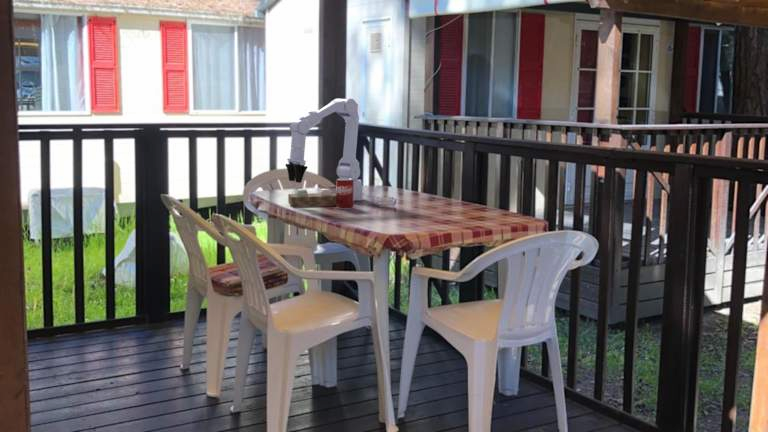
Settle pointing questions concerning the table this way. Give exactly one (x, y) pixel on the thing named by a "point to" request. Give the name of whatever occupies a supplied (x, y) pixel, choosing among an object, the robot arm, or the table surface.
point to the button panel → (312, 200)
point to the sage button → (301, 192)
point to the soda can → (345, 193)
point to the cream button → (324, 192)
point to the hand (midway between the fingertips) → (295, 181)
